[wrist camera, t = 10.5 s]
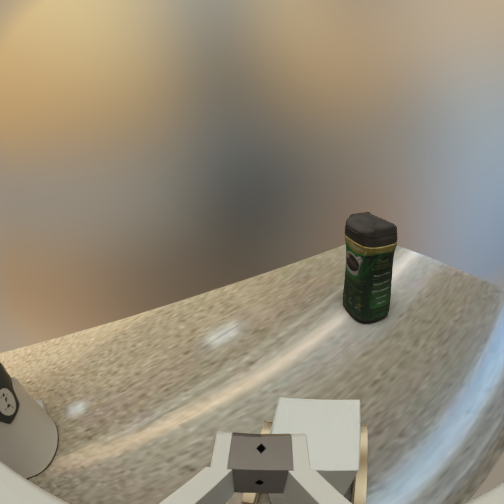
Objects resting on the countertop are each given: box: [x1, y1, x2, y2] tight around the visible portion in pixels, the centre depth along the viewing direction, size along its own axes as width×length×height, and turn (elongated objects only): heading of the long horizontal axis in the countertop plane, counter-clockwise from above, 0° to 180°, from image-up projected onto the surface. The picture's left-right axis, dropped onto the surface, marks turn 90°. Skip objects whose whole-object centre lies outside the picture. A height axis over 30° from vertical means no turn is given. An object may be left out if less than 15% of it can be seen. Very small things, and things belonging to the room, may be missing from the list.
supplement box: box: [268, 397, 361, 504], centre depth 21 cm, size 7×7×13 cm
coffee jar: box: [343, 212, 397, 322], centre depth 48 cm, size 10×8×19 cm
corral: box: [241, 422, 367, 504], centre depth 24 cm, size 11×12×2 cm
